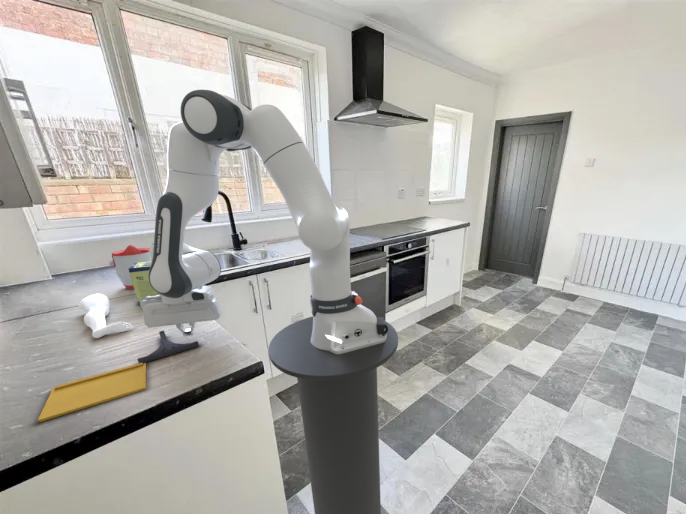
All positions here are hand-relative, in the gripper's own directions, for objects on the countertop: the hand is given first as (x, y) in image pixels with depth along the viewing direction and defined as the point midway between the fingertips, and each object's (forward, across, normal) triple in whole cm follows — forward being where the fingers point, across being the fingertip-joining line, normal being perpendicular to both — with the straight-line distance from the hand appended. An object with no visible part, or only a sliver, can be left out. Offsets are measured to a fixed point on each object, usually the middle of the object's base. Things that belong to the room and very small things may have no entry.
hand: (189, 335), depth 96 cm
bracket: (+2, -6, -2) cm, 6 cm away
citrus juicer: (+2, -40, +67) cm, 78 cm away
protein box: (+2, -23, +45) cm, 51 cm away
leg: (+2, -35, +26) cm, 43 cm away
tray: (+2, -14, -21) cm, 25 cm away
